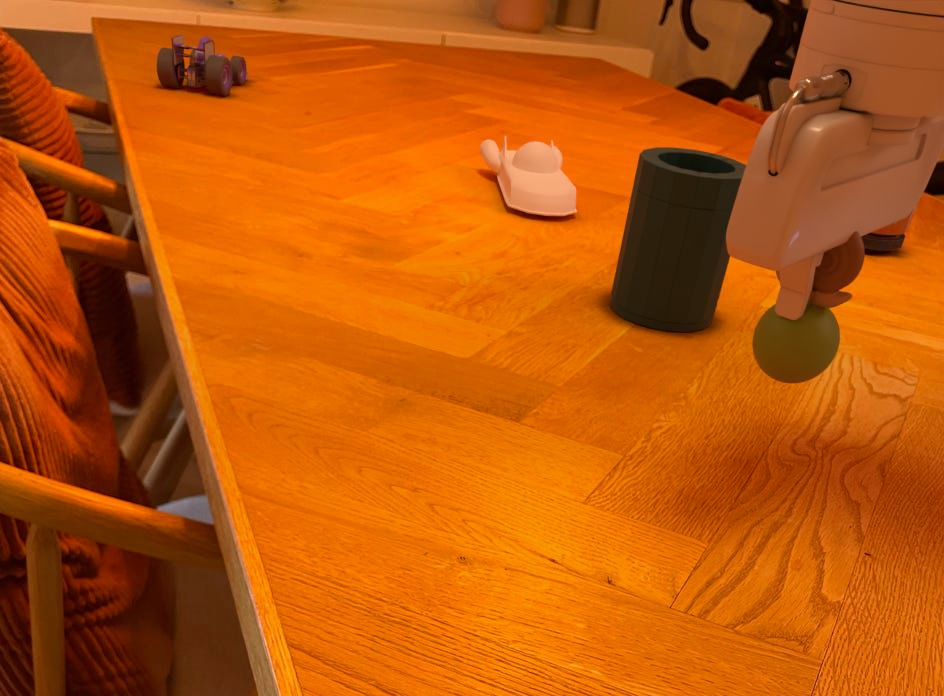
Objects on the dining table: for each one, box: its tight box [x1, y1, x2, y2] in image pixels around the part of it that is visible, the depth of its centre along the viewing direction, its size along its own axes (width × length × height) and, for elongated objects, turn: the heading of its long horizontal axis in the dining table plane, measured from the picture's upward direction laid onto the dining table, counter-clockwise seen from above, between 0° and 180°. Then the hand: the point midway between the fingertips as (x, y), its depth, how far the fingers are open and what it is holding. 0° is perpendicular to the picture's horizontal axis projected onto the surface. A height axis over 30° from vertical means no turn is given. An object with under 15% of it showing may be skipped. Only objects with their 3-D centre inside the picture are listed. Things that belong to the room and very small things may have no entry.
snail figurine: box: [752, 231, 866, 384], centre depth 63 cm, size 5×6×12 cm
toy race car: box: [156, 34, 249, 97], centre depth 144 cm, size 10×15×6 cm, turn 170°
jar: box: [609, 146, 747, 333], centre depth 88 cm, size 10×10×13 cm
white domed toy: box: [479, 135, 578, 217], centre depth 117 cm, size 10×20×6 cm, turn 7°
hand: (800, 310), depth 64 cm, fingers closed on snail figurine
